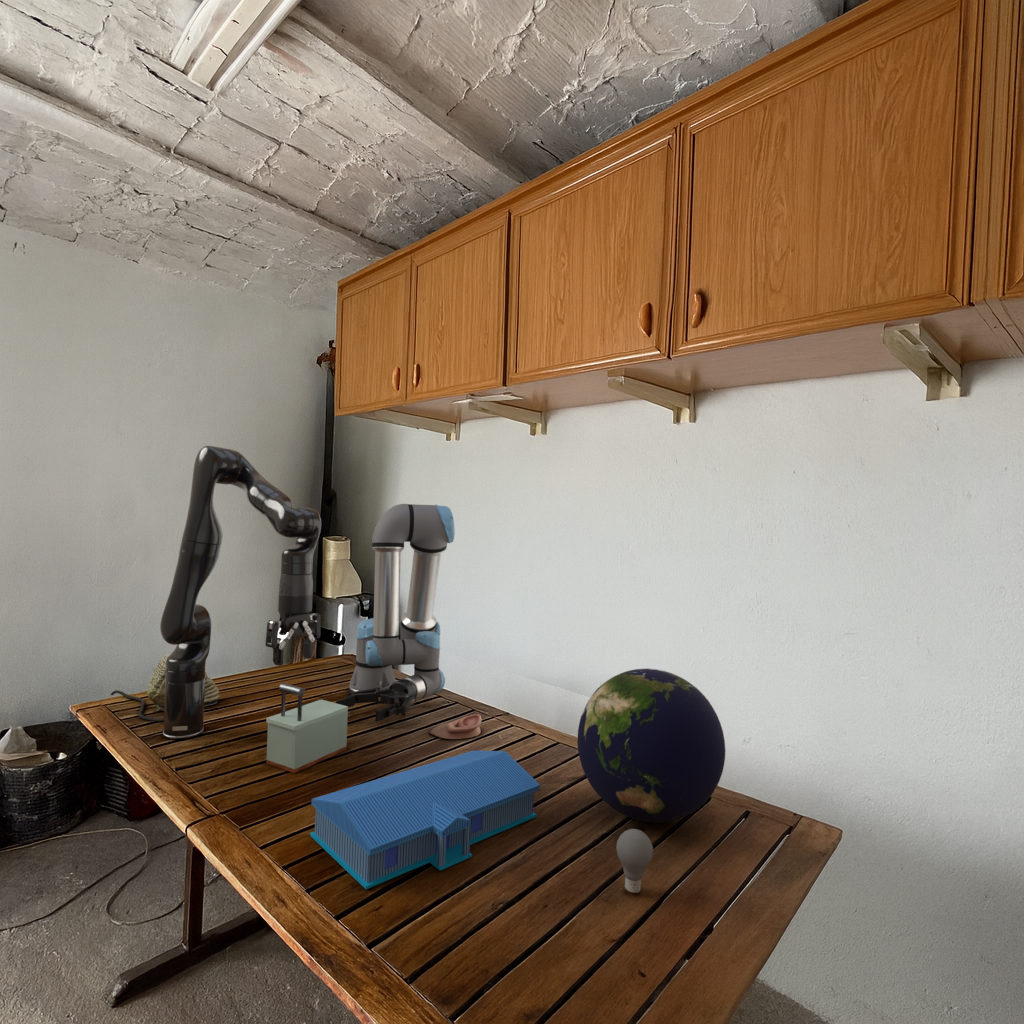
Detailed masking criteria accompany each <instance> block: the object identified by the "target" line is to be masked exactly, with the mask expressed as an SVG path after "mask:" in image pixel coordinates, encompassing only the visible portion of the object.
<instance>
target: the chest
mask: <svg viewBox="0 0 1024 1024" xmlns="http://www.w3.org/2000/svg"><path fill="white" fill-rule="evenodd" d="M348 717H349V710H348V711H345V712H343V713H340V714H337V715H335V716H332V717H329V718H327V719H324V720H321V721H319V722H316V723H314V724H311V725H308V726H306V727H303V728H300V729H298V730H295V731H293V730H290V729H287V728H284V727H280V726H277V725H274V724H270V723H267V736H266V737H267V738H266V739H267V741H266V760H265V761H266V764H267V765H270V766H273V767H276V768H279V769H281V770H283V771H287V772H290V773H293V774H296V773H298V772H300V771H303V770H305V769H307V768H309V767H311V766H313V765H316V764H318V763H320V762H322V761H324V760H326V759H329V758H331V757H333V756H335V755H338V754H339V753H342V752H344V751H347V748H348V747H347V746H348V745H347V743H348Z"/></svg>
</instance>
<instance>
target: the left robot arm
mask: <svg viewBox="0 0 1024 1024" xmlns="http://www.w3.org/2000/svg"><path fill="white" fill-rule="evenodd" d="M216 484H219V485H226V486H227V485H231V486H234V487H237V488H239V489H241V490H243V491H244V492H245V495H246V499H247V502H248V503H249V504H250V505H251V506H252V507H253V508H254V510H256V511H257V512H259V513H260V514H261V515H263V516H264V517H265V518H266V519H267V520H268V522H269V524H270V526H271V527H272V528H273V530H274V531H275V532H276V534H278V535H280V536H282V537H284V538H289V539H295V538H296V539H295V541H294V543H293V545H292V546H289V547H287V548H284V549H283V550H282V551H281V555H280V556H281V557H280V575H279V581H278V599H277V600H278V603H277V611H278V613H279V619H278V620H271V619H269V620H268V621H267V622H266V635H265V647H267V648H271V649H272V662H273V664H274V665H275V666H279V667H280V666H283V665H284V647H285V645H286V644H287V642H289V641H290V640H291V638H294V637H297V636H301V638H302V639H303V643H302V657H303V658H304V659H311V658H312V656H313V652H314V642H315V640H317V639H320V638H321V614H320V613H314V612H312V610H313V590H314V581H313V565H314V564H313V561H314V560H313V559H314V554H315V551H316V548H317V545H318V541H319V538H320V534H321V531H322V518H321V515H320V513H319V512H318V510H316V509H314V508H313V507H301V506H300V507H295V506H294V507H293V505H294V504H293V501H292V499H291V498H290V497H289V496H288V495H287V494H286V493H284V492H283V491H281V490H280V489H279V488H278V487H276V486H275V485H273V484H272V483H271V482H269V481H268V480H267V479H266V478H264V476H263V475H261V474H260V473H259V471H258V470H257V469H256V468H255V467H254V466H253V465H252V464H251V462H250V461H249V460H248V459H247V458H246V457H245V456H244V455H243V454H242V453H241V452H239V451H237V450H235V449H230V448H226V447H220V446H214V445H205V446H203V447H202V448H200V449H199V451H198V452H197V455H196V457H195V460H194V463H193V469H192V478H191V490H190V497H189V504H188V511H187V515H186V516H187V517H186V520H185V525H184V529H183V533H182V536H181V541H180V542H181V543H180V547H179V550H178V551H179V552H178V558H177V563H176V567H175V571H174V576H173V579H172V582H171V583H172V584H171V588H170V591H169V594H168V597H167V600H166V603H165V605H164V609H163V612H162V615H161V619H160V623H159V625H160V626H159V631H160V634H161V637H162V638H163V640H164V641H165V642H166V643H167V644H169V645H172V646H176V647H175V648H174V649H173V651H172V652H171V653H170V654H168V655H169V656H168V658H167V659H166V674H165V705H164V710H163V717H162V718H152V717H150V716H145V715H143V714H142V713H143V711H144V708H145V706H146V702H145V700H144V699H143V698H141V697H139V696H133V695H130V694H128V693H125V692H124V691H121V690H118V689H117V690H114V691H112V692H111V693H110V696H114V695H115V694H119V695H121V696H122V697H125V698H126V699H130V700H135V701H138V702H141V705H140V709H139V711H138V713H137V716H138V717H139V718H140V719H142V720H144V721H148V722H155V723H156V722H157V723H161V722H163V731H162V737H164V738H166V739H169V740H185V739H190V738H191V739H192V738H194V737H197V736H199V735H202V734H203V732H204V730H205V729H204V722H205V721H204V718H205V706H204V693H205V672H206V664H207V663H206V662H207V658H208V656H209V653H210V649H211V639H212V617H211V614H210V612H209V610H208V609H207V608H206V607H205V606H203V605H201V604H197V602H198V601H197V600H198V597H199V594H200V591H201V589H202V587H203V586H204V584H205V583H206V581H207V580H208V578H209V577H210V576H211V574H212V572H213V570H214V569H215V567H216V565H217V562H218V561H219V557H220V553H221V547H222V543H223V536H224V535H223V530H222V526H221V523H220V521H219V519H218V516H217V513H216V510H215V506H214V495H215V488H216Z"/></svg>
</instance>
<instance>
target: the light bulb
mask: <svg viewBox="0 0 1024 1024" xmlns="http://www.w3.org/2000/svg"><path fill="white" fill-rule="evenodd" d="M615 849H616V854H617V857H618V859H619V861H620V863H621V865H622V867H623V873H624V874H623V875H624V876H625V878H624V888H625V890H627V891H628V892H630V893H634V894H635V893H639V892H640V891H641V889H642V887H641V886H642V879H643V877H644V875H645V871H646V868H647V867H648V866H649V864H650V863H651V861H652V859H653V855H654V847H653V843H652V841H651V838H649V836H648V835H647V834H646V833H645V832H643V831H642V830H641V829H636V828H629V829H627V830H625V831H623V832H622V833H621V834H620V835H619V837H618V839H617V841H616V847H615Z"/></svg>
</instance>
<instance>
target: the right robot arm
mask: <svg viewBox="0 0 1024 1024" xmlns="http://www.w3.org/2000/svg"><path fill="white" fill-rule="evenodd" d="M455 529H456V528H455V521H454V516H453V512H452V510H451V508H450V507H448V506H447V505H440V504H439V505H438V504H414V503H413V504H411V503H410V504H408V503H399V504H395V505H393V506H392V507H390V508H389V509H387V510H386V511H385V512H384V513H383V514H382V515H381V517H380V518H379V520H378V521H377V523H376V525H375V528H374V530H373V533H372V539H371V549H372V550H373V551H374V553H375V555H374V586H373V587H374V588H373V589H374V590H373V591H374V592H373V593H374V595H373V617H372V618H368V619H365V620H362V621H361V622H360V623H358V625H357V631H356V636H355V637H356V650H355V651H356V653H355V668H354V670H353V673H352V675H351V678H350V681H349V685H348V692H347V696H346V697H344V698H341V699H339V700H336V702H335V703H337V704H340V705H344V706H348V708H352V707H354V706H355V705H356V704H367V703H369V704H370V703H375V704H386V705H387V706H384V707H381V708H380V709H377V710H375V717H374V718H375V719H374V721H375V722H376V723H379V722H380V721H383V720H386V719H388V718H389V717H392V716H394V715H395V716H399V715H400V714H401V716H403V717H404V716H406V715H407V714H408V712H409V711H410V709H411V707H413V706H415V703H416V702H418V701H420V700H423V699H425V698H428V697H430V696H431V697H432V696H433V695H435V694H437V693H439V692H440V691H442V690H443V688H444V687H445V684H446V678H445V675H444V672H443V671H442V670H441V669H440V651H441V625H440V623H439V622H438V621H437V618H436V617H435V615H434V608H435V599H436V592H437V585H438V578H439V571H440V564H441V563H440V562H441V558H442V557H441V556H442V553H445V551H447V547H448V544H451V543H453V542H454V540H455V533H456V532H455ZM405 543H409V545H410V548H411V549H412V550H413V556H412V564H411V572H410V579H409V580H410V581H409V589H408V596H407V597H408V599H407V606H406V612H404V613H403V614H402V615H401V619H400V598H401V593H400V592H401V555H402V554H401V553H402V551H404V550H405ZM407 665H408V666H410V665H413V669H414V672H413V674H411V675H410V676H407V677H403V678H401V679H399V680H396V677H395V672H394V669H393V666H407ZM379 699H380V700H379Z"/></svg>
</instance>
